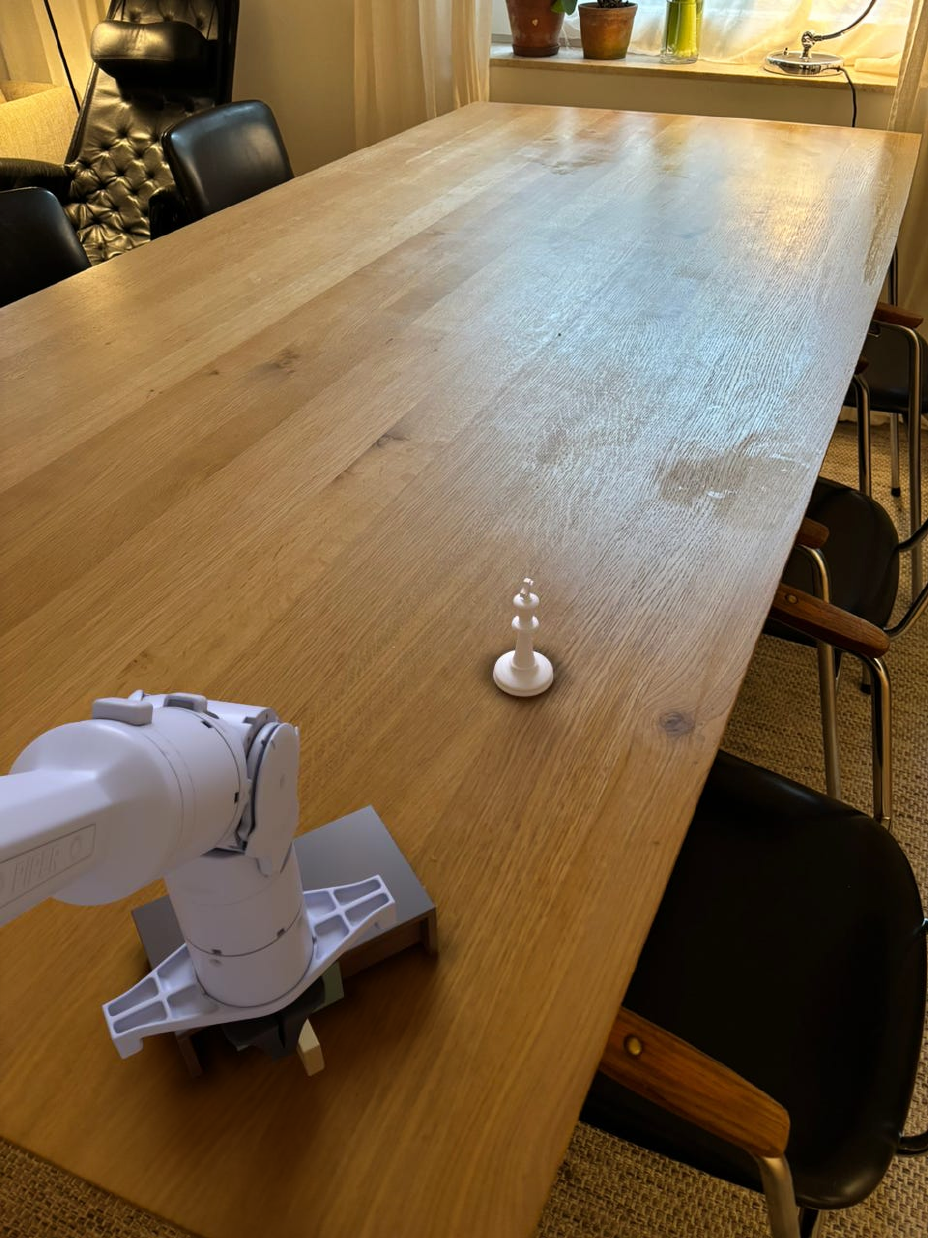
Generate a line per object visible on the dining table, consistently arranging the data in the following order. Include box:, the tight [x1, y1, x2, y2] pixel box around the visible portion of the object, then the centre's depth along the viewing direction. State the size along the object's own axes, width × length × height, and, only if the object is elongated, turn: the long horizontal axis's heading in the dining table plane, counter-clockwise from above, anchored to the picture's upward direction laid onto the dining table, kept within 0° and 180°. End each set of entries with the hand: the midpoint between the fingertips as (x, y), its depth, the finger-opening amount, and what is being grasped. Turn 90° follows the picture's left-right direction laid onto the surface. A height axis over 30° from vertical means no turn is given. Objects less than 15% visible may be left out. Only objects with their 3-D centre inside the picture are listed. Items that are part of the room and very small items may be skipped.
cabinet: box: [130, 804, 439, 1079], centre depth 61 cm, size 16×9×5 cm, turn 120°
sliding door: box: [235, 962, 345, 1077], centre depth 57 cm, size 7×5×4 cm
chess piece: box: [492, 577, 554, 697], centre depth 78 cm, size 5×5×10 cm
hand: (279, 1041), depth 55 cm, fingers closed
